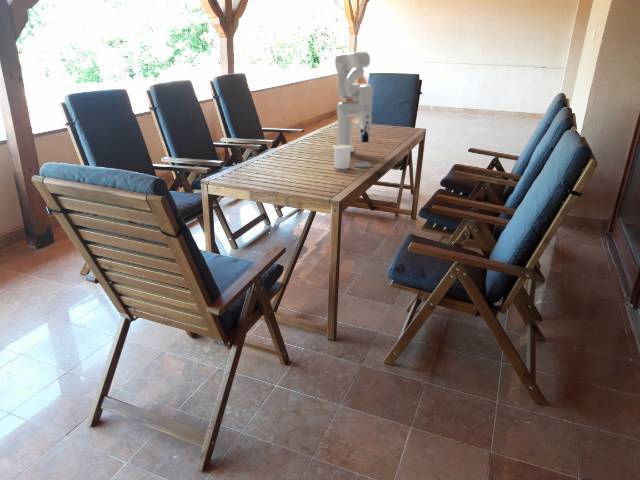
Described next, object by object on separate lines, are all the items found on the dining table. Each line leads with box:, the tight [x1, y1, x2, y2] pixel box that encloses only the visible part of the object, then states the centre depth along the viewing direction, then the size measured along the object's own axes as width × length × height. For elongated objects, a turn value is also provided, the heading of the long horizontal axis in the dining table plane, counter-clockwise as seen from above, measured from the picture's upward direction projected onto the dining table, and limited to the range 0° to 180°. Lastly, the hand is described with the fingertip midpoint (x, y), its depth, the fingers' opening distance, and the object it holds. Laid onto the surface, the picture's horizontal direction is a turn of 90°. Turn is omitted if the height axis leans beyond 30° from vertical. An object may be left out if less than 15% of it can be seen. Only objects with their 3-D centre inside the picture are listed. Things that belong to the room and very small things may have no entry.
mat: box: [352, 161, 374, 169], centre depth 280 cm, size 10×9×1 cm
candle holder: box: [333, 144, 352, 170], centre depth 273 cm, size 10×10×12 cm
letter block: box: [357, 131, 371, 144], centre depth 274 cm, size 5×5×5 cm
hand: (363, 140), depth 274 cm, fingers closed on letter block, 5 cm apart
